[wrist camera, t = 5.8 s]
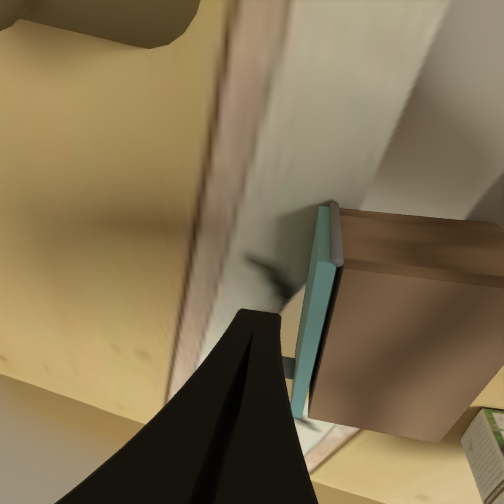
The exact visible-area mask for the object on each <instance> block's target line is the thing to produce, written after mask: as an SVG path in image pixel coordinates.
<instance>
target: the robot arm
mask: <svg viewBox="0 0 504 504" xmlns="http://www.w3.org/2000/svg"><path fill="white" fill-rule="evenodd" d="M280 329H281V316H280V315H279V314H276V313H269V312H262V311H256V310H249V309H242V308H241V309H240V310H238V312H237V314H236V315H235V317H234V319H233V320H232V322H231V324H230V325H229V327H228V328H227V330H226V331H225V333H224V334H223V336H222V337H221V338H220V340H219V341H218V343H217V344H216V345H215V347H214V348H213V349H212V351H211V352H210V353H209V355H208V356H207V357H206V359H205V360H204V361H203V363H202V364H201V365H200V366H199V367H198V369H197V370H196V371H195V372H194V373H193V375H192V376H191V377H190V378H189V379H188V381H187V382H186V383H185V384H184V385H183V386H182V388H181V389H180V390H179V391H178V392H177V393H176V394H175V395H174V397H173V398H172V399H171V400H170V401H169V402H168V403H167V404H166V405H165V406H164V407H163V408H162V409H161V410H160V411H159V412H158V413H157V414H156V415H155V416H154V417H153V418H152V419H151V420H150V421H149V422H148V423H147V424H146V425H145V426H144V427H143V428H142V429H141V430H140V431H139V432H138V433H137V434H136V435H135V436H134V437H133V438H132V439H131V440H130V441H128V442H127V443H126V444H125V445H124V446H123V447H122V448H121V449H120V450H119V451H118V452H116V453H115V454H114V455H113V456H112V457H111V458H109V459H108V460H107V461H106V462H105V463H103V464H102V465H101V466H100V467H99V468H98V469H97V470H95V471H94V472H93V473H92V474H91V475H89V476H88V477H87V478H86V479H85V480H84V481H82V482H81V483H80V484H79V485H77V486H76V487H75V488H74V489H73V490H71V491H70V492H69V493H68V494H66V495H65V496H64V497H62V498H61V499H60V500H59V501H57V502H56V503H55V504H318V501H317V498H316V495H315V492H314V489H313V486H312V483H311V480H310V476H309V473H308V470H307V466H306V463H305V460H304V456H303V453H302V449H301V446H300V442H299V438H298V435H297V431H296V427H295V423H294V419H293V415H292V410H291V406H290V401H289V397H288V392H287V386H286V381H285V375H284V368H283V362H282V354H281V342H280Z"/></svg>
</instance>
